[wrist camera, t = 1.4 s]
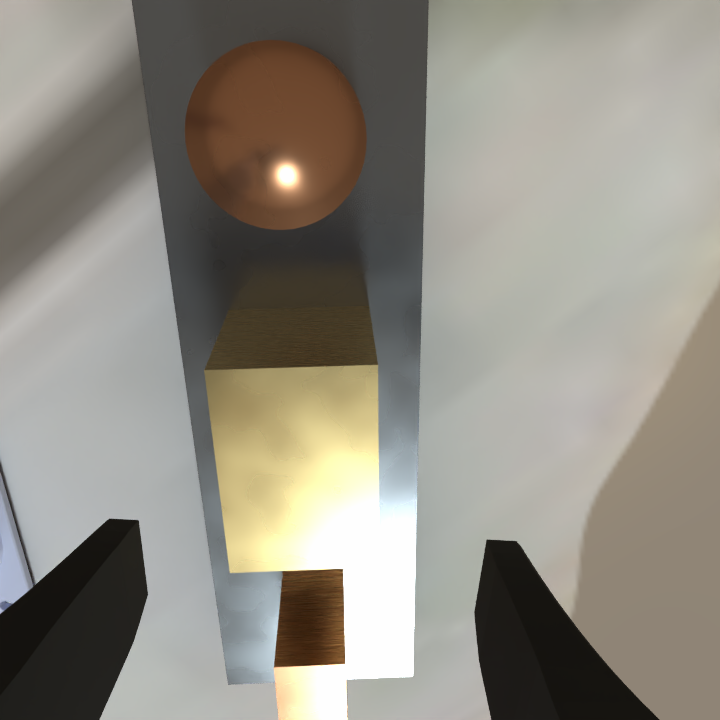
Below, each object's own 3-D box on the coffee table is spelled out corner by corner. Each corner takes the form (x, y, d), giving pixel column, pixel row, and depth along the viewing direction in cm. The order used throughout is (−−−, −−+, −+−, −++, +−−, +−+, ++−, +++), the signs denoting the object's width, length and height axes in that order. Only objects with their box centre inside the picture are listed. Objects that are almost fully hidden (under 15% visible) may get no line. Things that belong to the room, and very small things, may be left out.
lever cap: (247, 485, 21) (229, 572, 18) (228, 310, 19) (204, 370, 15) (371, 480, 21) (379, 567, 18) (369, 305, 19) (378, 364, 15)
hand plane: (236, 632, 27) (207, 806, 21) (150, -46, 17) (45, -106, 11) (406, 625, 28) (428, 796, 21) (417, -49, 18) (466, -110, 11)
